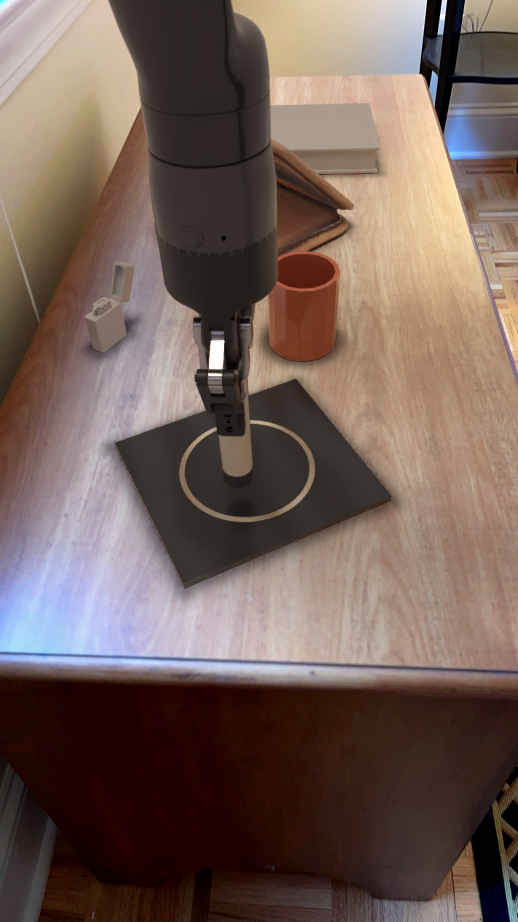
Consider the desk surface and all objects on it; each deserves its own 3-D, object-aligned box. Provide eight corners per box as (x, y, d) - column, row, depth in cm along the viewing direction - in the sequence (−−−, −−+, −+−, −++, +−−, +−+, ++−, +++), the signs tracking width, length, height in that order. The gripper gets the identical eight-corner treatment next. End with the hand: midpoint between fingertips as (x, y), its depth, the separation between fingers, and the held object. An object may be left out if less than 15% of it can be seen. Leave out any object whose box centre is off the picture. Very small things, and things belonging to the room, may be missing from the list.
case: (360, 228, 94) (371, 103, 82) (243, 289, 85) (236, 159, 73) (260, 178, 104) (257, 62, 92) (147, 228, 95) (127, 106, 83)
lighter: (103, 353, 77) (88, 292, 71) (92, 348, 78) (76, 287, 72) (144, 321, 81) (133, 260, 75) (133, 316, 82) (121, 256, 76)
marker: (245, 462, 61) (237, 355, 52) (258, 481, 60) (252, 375, 51) (218, 472, 61) (206, 366, 52) (231, 492, 59) (220, 386, 50)
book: (379, 147, 101) (217, 150, 102) (377, 173, 104) (219, 176, 105) (368, 99, 114) (224, 103, 115) (366, 123, 117) (225, 127, 117)
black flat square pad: (296, 382, 73) (296, 377, 72) (391, 500, 62) (392, 495, 61) (115, 446, 67) (114, 441, 67) (184, 588, 56) (183, 583, 56)
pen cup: (314, 313, 81) (317, 244, 74) (347, 348, 76) (353, 278, 70) (258, 332, 79) (255, 262, 72) (288, 369, 74) (288, 298, 68)
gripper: (270, 280, 37) (276, 487, 50) (282, 164, 47) (284, 363, 59) (134, 279, 38) (174, 484, 50) (172, 165, 47) (198, 362, 60)
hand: (233, 418), depth 55 cm, fingers closed on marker, 2 cm apart
